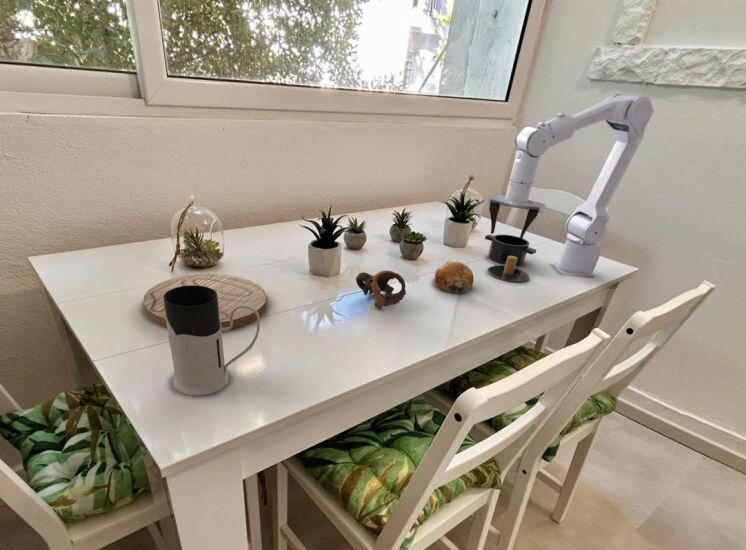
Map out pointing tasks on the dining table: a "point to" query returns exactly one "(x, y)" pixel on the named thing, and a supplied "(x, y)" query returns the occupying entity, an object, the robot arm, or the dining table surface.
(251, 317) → the trivet
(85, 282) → the dining table surface
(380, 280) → the brown curved loop
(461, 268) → the bread roll
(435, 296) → the dining table surface
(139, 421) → the dining table surface
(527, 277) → the lid
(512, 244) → the pot
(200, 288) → the glass holder
